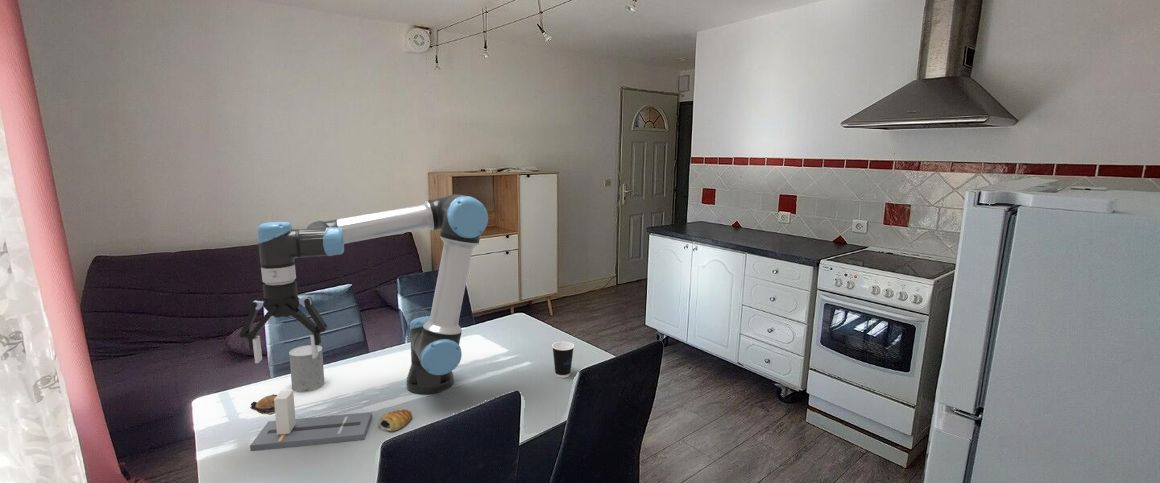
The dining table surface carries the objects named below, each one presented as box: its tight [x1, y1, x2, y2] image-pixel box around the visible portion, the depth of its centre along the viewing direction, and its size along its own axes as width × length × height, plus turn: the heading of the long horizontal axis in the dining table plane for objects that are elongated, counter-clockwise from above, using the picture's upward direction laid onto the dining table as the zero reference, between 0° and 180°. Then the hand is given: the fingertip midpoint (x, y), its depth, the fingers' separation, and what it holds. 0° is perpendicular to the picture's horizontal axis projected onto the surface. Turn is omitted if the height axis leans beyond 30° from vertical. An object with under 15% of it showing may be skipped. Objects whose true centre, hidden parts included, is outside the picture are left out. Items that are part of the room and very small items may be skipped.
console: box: [249, 411, 373, 452], centre depth 134 cm, size 27×12×2 cm, turn 103°
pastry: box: [377, 409, 413, 432], centre depth 139 cm, size 9×7×4 cm
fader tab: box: [274, 389, 297, 435], centre depth 131 cm, size 3×5×10 cm, turn 13°
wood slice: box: [249, 393, 278, 416], centre depth 148 cm, size 11×8×4 cm
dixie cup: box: [551, 340, 575, 379], centre depth 173 cm, size 8×8×11 cm
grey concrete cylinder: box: [288, 344, 326, 393], centre depth 160 cm, size 10×10×12 cm
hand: (287, 359), depth 131 cm, fingers open, 13 cm apart
